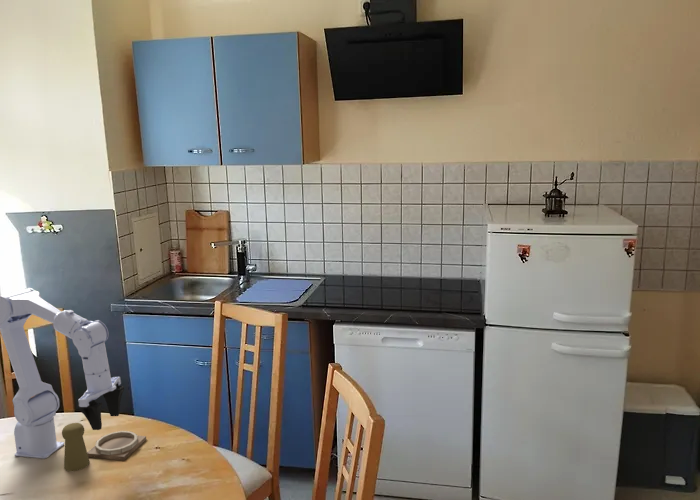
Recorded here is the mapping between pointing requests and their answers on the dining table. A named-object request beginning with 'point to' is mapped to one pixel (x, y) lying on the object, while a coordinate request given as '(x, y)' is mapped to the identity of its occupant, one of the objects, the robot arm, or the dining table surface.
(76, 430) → the cork
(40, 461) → the dining table surface
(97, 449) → the cup holder
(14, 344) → the robot arm
